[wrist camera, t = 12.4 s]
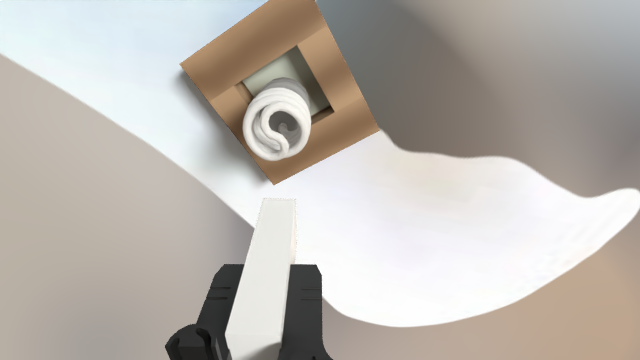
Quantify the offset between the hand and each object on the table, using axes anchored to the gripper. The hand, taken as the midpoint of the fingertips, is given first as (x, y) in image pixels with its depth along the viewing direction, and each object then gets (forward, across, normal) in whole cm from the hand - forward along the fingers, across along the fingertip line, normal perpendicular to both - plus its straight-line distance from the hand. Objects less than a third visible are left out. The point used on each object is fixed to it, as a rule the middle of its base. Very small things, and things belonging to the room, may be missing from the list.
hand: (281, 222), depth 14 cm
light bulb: (+22, -2, 0) cm, 22 cm away
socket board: (+23, -2, +1) cm, 23 cm away
